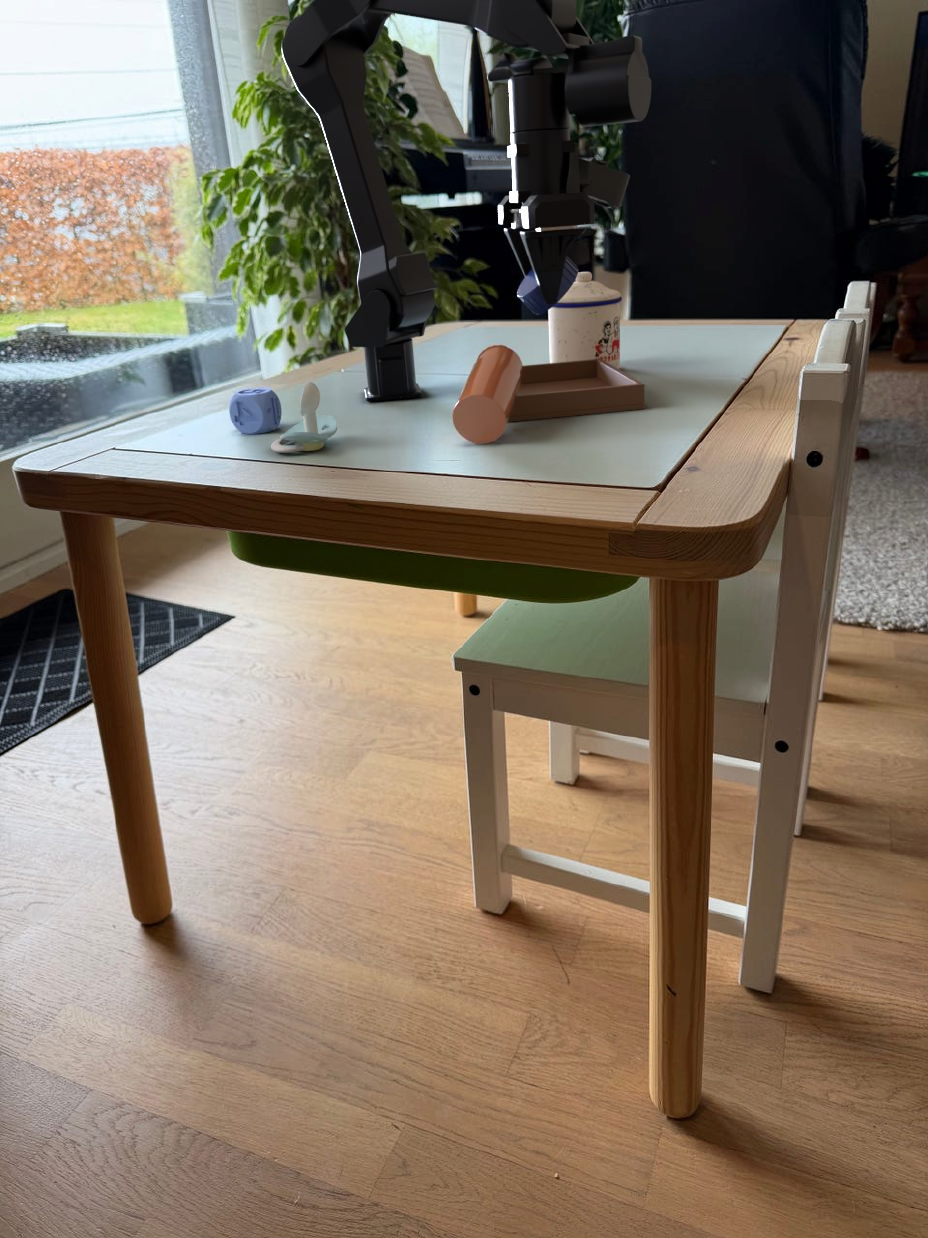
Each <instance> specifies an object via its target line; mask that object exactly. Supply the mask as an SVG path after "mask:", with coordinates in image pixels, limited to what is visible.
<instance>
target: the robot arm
mask: <svg viewBox="0 0 928 1238" xmlns="http://www.w3.org/2000/svg"><path fill="white" fill-rule="evenodd" d="M577 11H578V10H577V5H576V1H575V0H312V1H311V3H309V4H308V6H307V7H306V8H305V9H304V11H302V13H301V14H300V15H297V16H295V17H294V18H293V19H292V20H291V21H289V23H288V25H287V27H286V29H285V31H284V32H285V33H284V36H283V39H282V40H281V54H282V58H283V61H284V63H285V66H286V68H287V70H288V72H289V75H290V76H291V77H290V78H291V79H292V81H293V83H294V86H295V88H296V90H297V91H298V93H299V94H300V95H301V96H302V98H303V99H304V100H305V101H306V103H307V104H308V105H309V106H310V107H311V109H312V110H313V111H314V112H315V114H316V115H317V117H318V119H319V121H320V124H321V128H322V131H323V134H324V137H325V140H326V143H327V148H328V150H329V154H330V157H331V160H332V163H333V167H334V170H335V174H336V176H337V180H338V183H339V187H340V191H341V193H342V196H343V199H344V202H345V207H346V209H347V212H348V216H349V220H350V222H351V225H352V229H353V232H354V235H355V238H356V242H357V245H358V248H359V253H360V256H359V257H360V258H359V265H358V272H357V279H356V284H357V290H358V296H359V301H360V305H359V307H358V308H357V309H356V311H355V312H354V314H353V315H352V316H351V318H350V319H349V320H348V322H347V324H346V325H345V327H344V333H345V336H346V339H347V341H348V343H349V346H350V347H351V348H363V354H364V363H365V373H366V381H367V382H366V383H367V387H365V388H364V395H365V401H366V402H376V401H386V400H399V399H408V398H419V397H423V391H422V389H421V387H420V385H419V383H417V377H416V367H415V355H414V344H413V339H414V338H421V337H424V335H425V331H426V327H427V323H428V318H430V316H431V314H432V312H433V309H434V307H435V306H436V297H435V291H434V290H437V289H438V285H437V283H436V282H435V280H434V279H433V276H432V273H431V269H430V261H429V258H428V255H427V253H426V252H425V251H420V252H415V253H413V251H412V250H411V249H410V248H409V247H408V245H407V244H406V243H405V241H404V239H403V236H402V233H401V229H400V227H399V222H398V220H397V216H396V213H395V209H394V206H393V202H392V200H391V195H390V193H389V189H388V186H387V182H386V179H385V176H384V172H383V169H382V166H381V162H380V158H379V155H378V152H377V148H376V145H375V142H374V138H373V135H372V131H371V128H370V124H369V121H368V118H367V114H366V111H365V105H364V99H365V92H366V85H367V79H368V74H367V67H366V66H367V65H366V61H365V56H366V55H367V54H368V53H369V52H370V51H371V50H372V49H373V47H374V46H375V45H376V44H377V43H378V42H379V39H380V36H381V33H382V31H383V29H384V26H385V23H386V21H387V20H388V19H389V18H390V16H391V15H394V14H395V15H401V16H406V17H413V18H419V19H423V20H430V21H436V22H443V23H448V24H455V25H461V26H467V27H469V28H471V29H474V30H476V31H477V32H479V33H482V34H483V35H484V36H487V37H489V38H491V39H494V40H496V41H498V42H501V43H504V44H506V45H508V46H510V47H513V48H518V49H521V50H527V51H528V50H529V51H535V52H539V53H540V54H541V55H544V56H547V57H553V58H559V59H566V60H567V62H568V63H567V64H568V65H560V66H554V67H553V65H552V63H551V62H550V61H549V60H548V59H547V58H546V57H543V56H541V57H540V56H539V57H533V58H526V59H520V58H519V57H518V56H517V55H516V54H515V53H511V52H503V53H502V54H501V57H500V59H499V61H498V62H497V63H496V64H495V65H494V66H493V67H492V69H490V71H489V72H488V74H487V76H486V78H487V80H488V82H491V83H500V84H508V93H509V94H508V97H509V122H510V123H509V124H510V145H508V146H507V147H506V148H507V158H510V159H511V179H512V191H509V193H508V194H509V195H505V196H504V197H503V199H502V200H501V202H500V203H498V205H497V213H498V214H497V215H498V216H497V217H498V225H504V226H505V225H509V224H511V227H505V228H503V232H504V234H505V236H506V237H507V240H508V243H509V245H510V246H511V249H512V250H513V253H514V255H515V258H516V261H517V263H518V265H519V267H520V269H521V271H522V273H523V276H524V278H525V277H526V275H527V274H528V273H529V272H530V270H531V269H532V268H533V271H534V274H535V277H536V279H537V282H538V285H539V288H540V290H541V293H542V296H543V298H544V301H545V303H546V304H555V303H556V302H557V299H558V294H559V289H560V284H561V280H562V275H563V270H564V266H565V261H566V257H567V256H568V253H569V249H570V247H571V246H572V245H573V243H574V242H575V241H576V240H577V239H578V238H579V237H581V235H583V234H584V233H585V232H586V230H587V227H583V226H589V225H595V204H596V205H598V206H601V207H603V208H607V209H614V208H616V209H618V210H620V209H621V205H622V203H623V199H624V197H625V193H626V190H627V188H628V185H629V181H630V178H631V175H630V174H628V173H626V172H623V171H621V170H617V169H615V168H612V167H609V166H608V162H607V161H606V160H599V159H597V158H596V157H594V156H593V157H589V158H588V160H587V159H585V158H581V157H579V144H578V143H576V140H575V139H571V129H570V127H571V126H570V125H571V122H570V121H571V120H570V119H571V117H570V116H572V117H575V119H576V122H577V123H578V124H579V125H580V126H581V127H583V128H586V127H587V128H588V127H597V126H605V125H616V124H626V123H634V122H635V123H637V122H642V121H644V119H645V118H646V117H647V114H648V112H649V108H650V105H651V99H652V79H651V77H650V74H649V67H648V63H647V59H646V56H645V55H644V53H643V39H642V38H641V37H640V36H637V35H632V34H631V35H625V36H620V37H618V38H615V39H613V40H608V41H602V42H596V43H595V42H594V41H593V39H592V38H591V36H590V34H589V33H588V32H587V30H586V29H585V27H584V26H583V24H582V22H581V21H580V20H579V18H578V16H577Z"/></svg>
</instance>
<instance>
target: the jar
mask: <svg viewBox="0 0 928 1238" xmlns="http://www.w3.org/2000/svg"><path fill="white" fill-rule="evenodd" d="M523 366H524V365H523V361H522V360H521V358H520V356H519V354H518V353H517V352H516V351H515V350H513V348H512V349H511V348H510V347H508V346H507V345H504V344H493V345H491V346H488V347H486V348H485V349H483V350H482V351H481V352H480V353H479V354H478V357H477V359H476V360H475V363H474V364H473V365H472V366H471V367H472V368H471V370H470V372H469V374H468V376H467V379H466V381H465V383H464V385H463V387H462V390H461V392H460V394H459V396H458V398H457V401H456V403H455V406H454V407H453V411H452V423H453V425H454V428H455V430H456V432H457V433H458V434H459V435H460V437H462V438H463V439H465V440H466V441H468V442H471V443H474V444H476V445H477V444H479V445H486V444H490V443H493V442H495V441H497V440H498V439H499V438H500V437H502V435H503V434H504V432H505V431H506V429H507V424H508V423H509V422H508V419H509V416H510V413H511V410H512V408H513V405H514V402H515V399H516V396H517V393H518V390H519V388H520V384H521V376H522V372H523Z"/></svg>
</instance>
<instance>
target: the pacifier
mask: <svg viewBox="0 0 928 1238" xmlns="http://www.w3.org/2000/svg"><path fill="white" fill-rule="evenodd" d="M320 402H321V393H320V390H319V387H318V386H317V384H316V383H314V382H312V381H310V380H309V381H306V383H305V384H304V386H303V389H302V392H301V395H300V406H299V408H300V415H301V416H302V420H301V421H299V422H297V423H296V424H295V425H293V426H292V427H291V428H289V429H288V430H287V431H285V432H284V433H283V434H281V435H280V436H279V438H277V439H276V440H274V441H273V442H272V443H271V445H270V448H271V450H272V451H274V452H275V453H283V454H286V453H295V452H311V451H318V450H320V449H322V448H323V447H324V446H325V441H327V440H328V439H329V438H331V437H333V436H334V435H335V434H336V433H337V431H338V422H337V420H336V419H335V417H333V416H332V415H328V414H316V411H317V409H318V408H319V406H320ZM292 442H295V444H289V445H288V443H292Z"/></svg>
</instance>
